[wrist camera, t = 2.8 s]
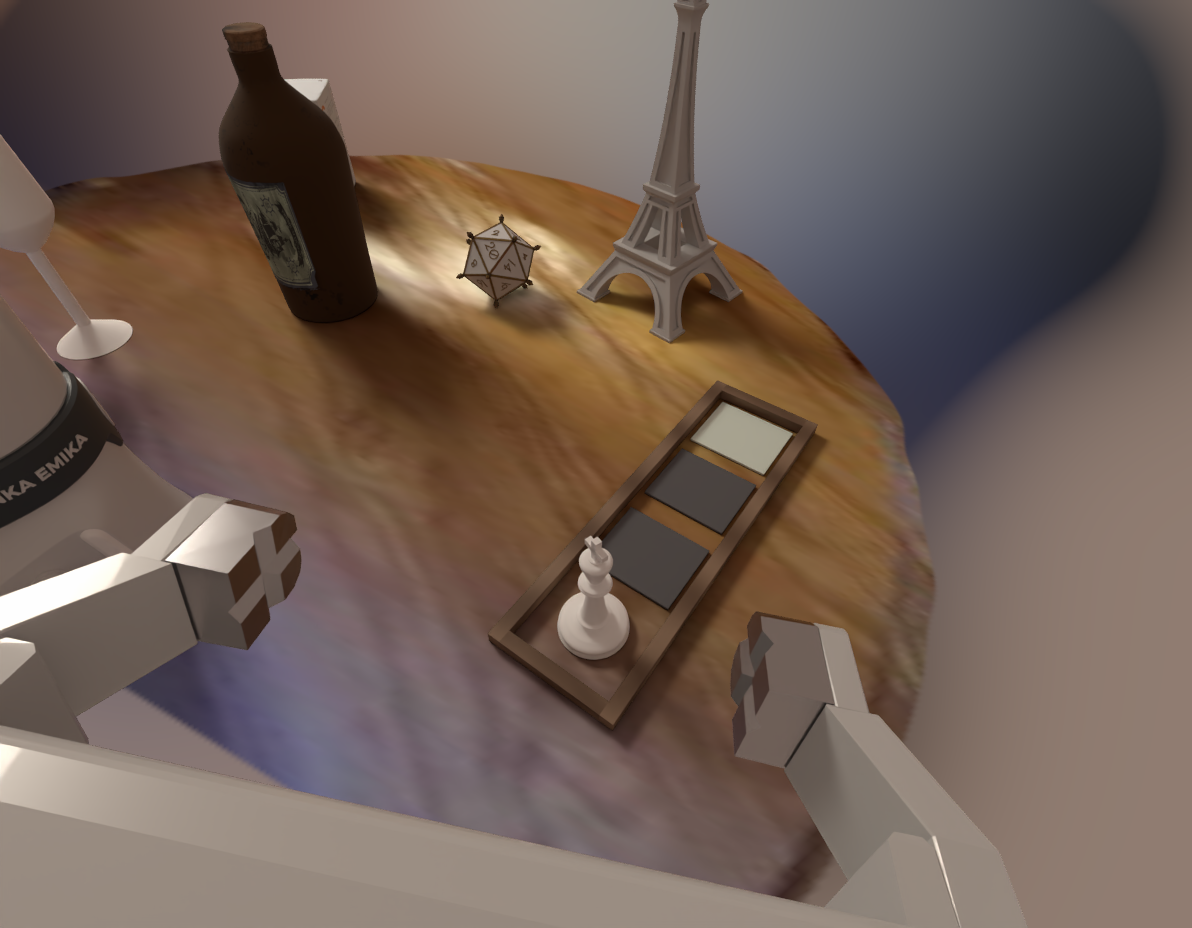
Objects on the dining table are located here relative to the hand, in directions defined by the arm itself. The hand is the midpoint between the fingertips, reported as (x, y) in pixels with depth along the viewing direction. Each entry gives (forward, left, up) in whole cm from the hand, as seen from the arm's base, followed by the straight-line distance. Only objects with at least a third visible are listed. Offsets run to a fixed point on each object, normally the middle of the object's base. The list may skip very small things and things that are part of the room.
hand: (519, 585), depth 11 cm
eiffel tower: (+51, +25, -30) cm, 64 cm away
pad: (+35, +7, -29) cm, 46 cm away
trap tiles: (+24, +7, -29) cm, 38 cm away
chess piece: (+13, +7, -29) cm, 33 cm away
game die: (+40, +39, -29) cm, 63 cm away
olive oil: (+28, +53, -29) cm, 67 cm away
